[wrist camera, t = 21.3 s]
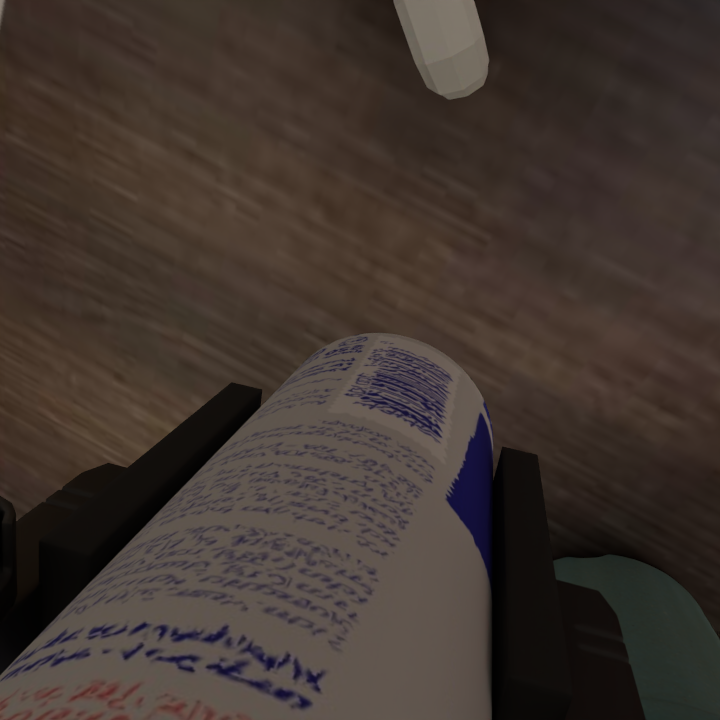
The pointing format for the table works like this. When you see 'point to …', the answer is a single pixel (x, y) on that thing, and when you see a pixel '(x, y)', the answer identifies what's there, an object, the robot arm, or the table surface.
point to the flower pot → (657, 635)
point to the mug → (445, 44)
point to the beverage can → (300, 564)
